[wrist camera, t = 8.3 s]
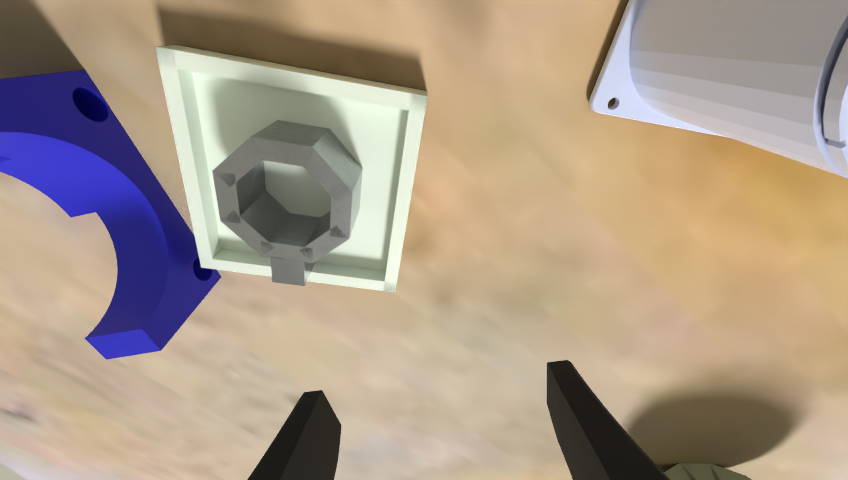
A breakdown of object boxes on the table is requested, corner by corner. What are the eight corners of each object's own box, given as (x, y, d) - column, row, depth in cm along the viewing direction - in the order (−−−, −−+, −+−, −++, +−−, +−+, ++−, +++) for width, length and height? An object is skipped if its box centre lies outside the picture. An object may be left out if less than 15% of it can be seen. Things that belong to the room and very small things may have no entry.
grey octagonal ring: (365, 134, 16) (354, 153, 14) (355, 258, 20) (346, 290, 18) (240, 113, 16) (205, 129, 13) (254, 244, 20) (229, 276, 17)
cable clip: (4, 91, 16) (-192, 119, 11) (89, 69, 16) (-75, 87, 10) (158, 286, 22) (79, 363, 17) (222, 275, 22) (161, 350, 17)
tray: (427, 91, 16) (427, 96, 15) (396, 276, 22) (395, 292, 20) (178, 45, 15) (155, 46, 14) (214, 252, 20) (201, 267, 19)
